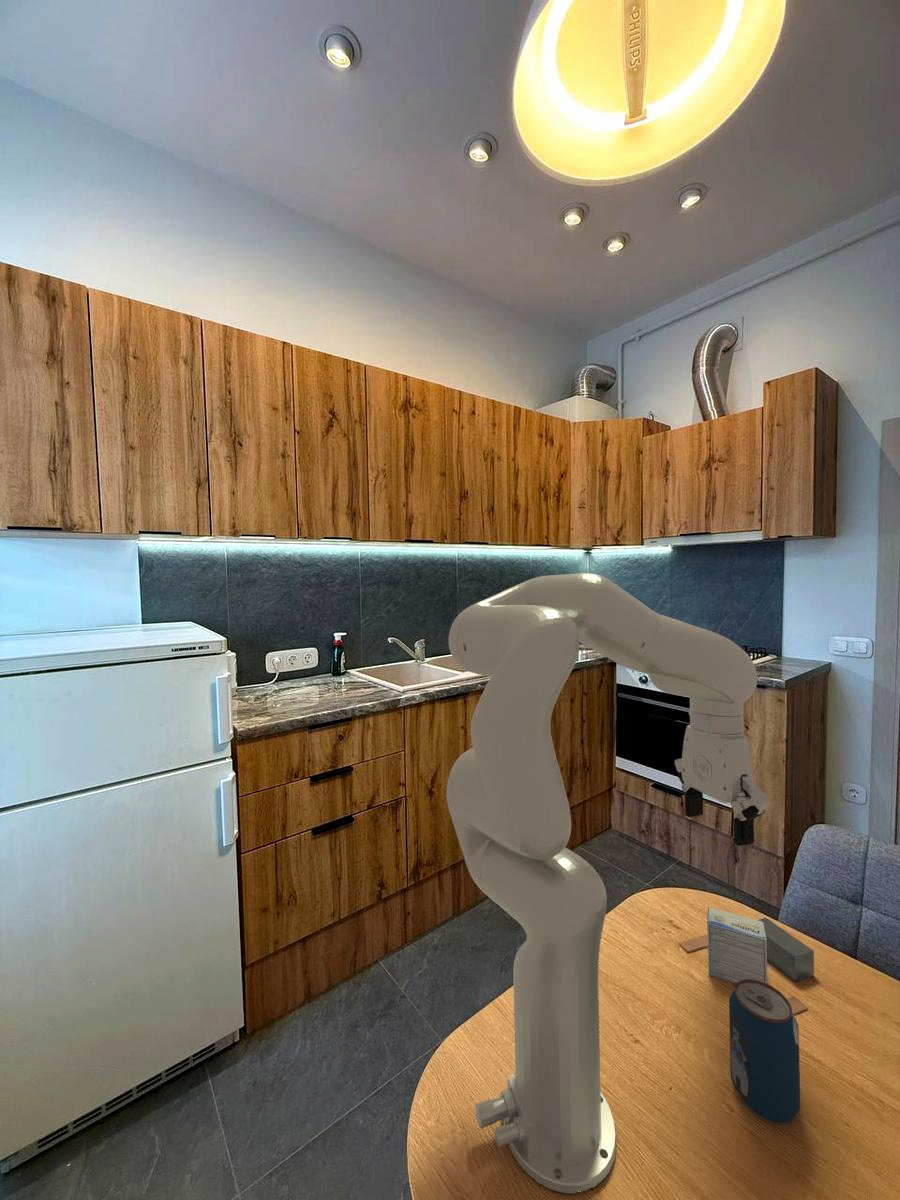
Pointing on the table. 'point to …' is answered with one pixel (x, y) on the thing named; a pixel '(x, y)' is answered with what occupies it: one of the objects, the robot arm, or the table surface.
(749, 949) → the medicine box
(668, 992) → the table surface
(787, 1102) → the soda can
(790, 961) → the connector dock
